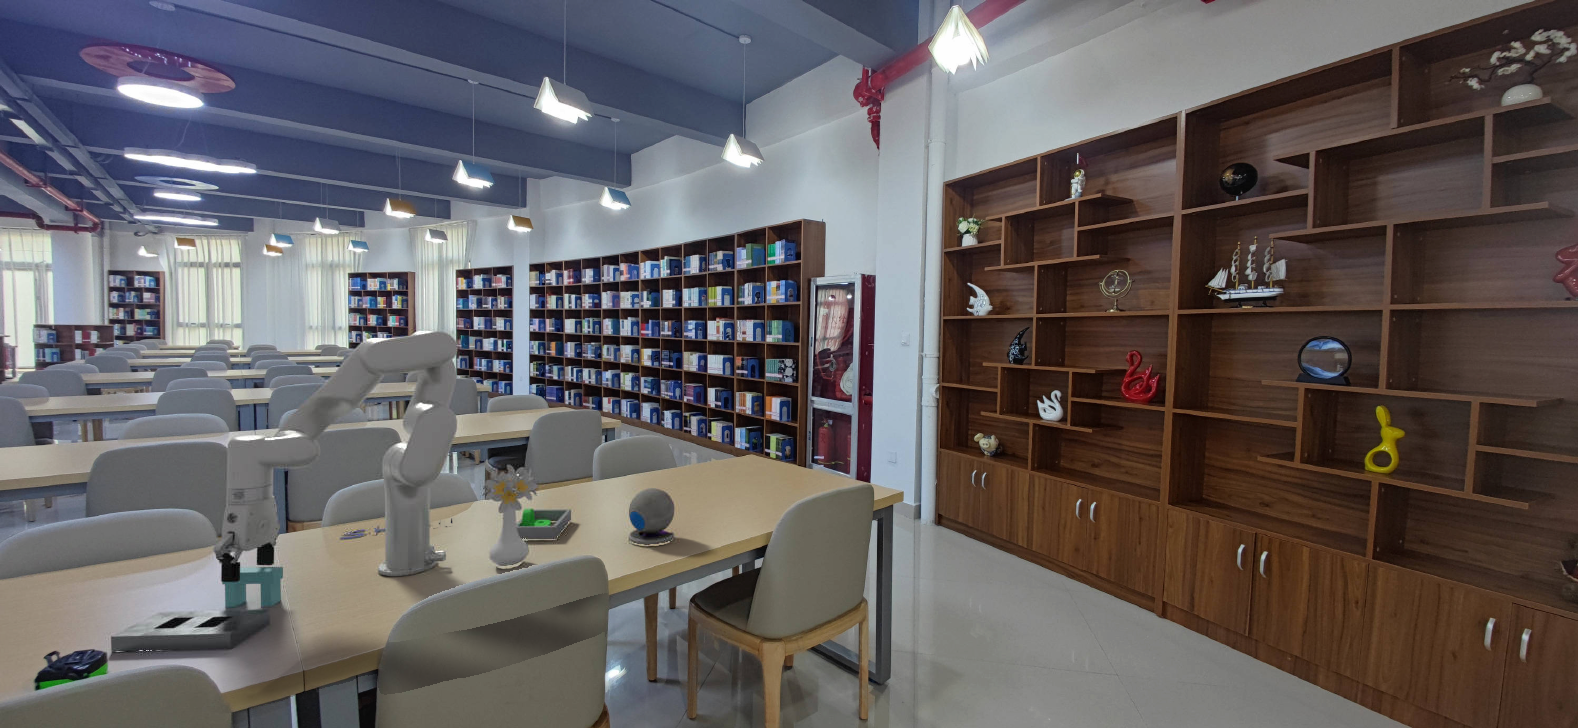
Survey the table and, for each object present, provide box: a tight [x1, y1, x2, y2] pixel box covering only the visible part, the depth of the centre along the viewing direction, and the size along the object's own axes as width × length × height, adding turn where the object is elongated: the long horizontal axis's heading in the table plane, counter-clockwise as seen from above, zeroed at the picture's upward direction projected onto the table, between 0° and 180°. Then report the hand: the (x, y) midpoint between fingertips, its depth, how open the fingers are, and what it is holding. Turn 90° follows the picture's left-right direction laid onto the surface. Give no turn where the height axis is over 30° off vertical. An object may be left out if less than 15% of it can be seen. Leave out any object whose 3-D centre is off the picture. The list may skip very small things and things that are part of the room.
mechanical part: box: [521, 508, 552, 526], centre depth 186 cm, size 12×6×8 cm, turn 8°
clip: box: [221, 566, 284, 608], centre depth 134 cm, size 10×3×8 cm, turn 96°
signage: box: [339, 527, 385, 540], centre depth 186 cm, size 28×1×10 cm
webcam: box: [628, 487, 675, 545], centre depth 181 cm, size 13×13×15 cm
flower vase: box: [481, 464, 539, 566], centre depth 158 cm, size 13×18×25 cm
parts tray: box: [516, 508, 572, 539], centre depth 186 cm, size 12×18×4 cm, turn 6°
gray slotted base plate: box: [110, 609, 271, 653], centre depth 119 cm, size 20×10×3 cm, turn 96°
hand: (248, 572), depth 133 cm, fingers open, 9 cm apart
